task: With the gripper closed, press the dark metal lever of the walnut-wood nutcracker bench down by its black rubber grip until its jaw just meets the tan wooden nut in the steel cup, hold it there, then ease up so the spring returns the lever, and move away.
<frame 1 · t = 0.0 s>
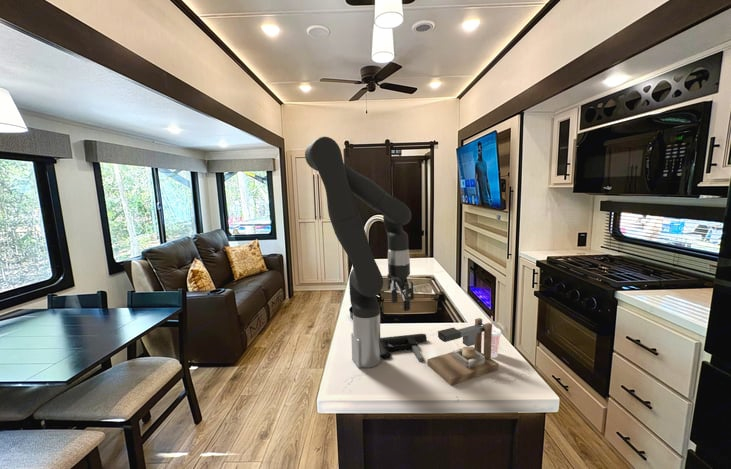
hand: (400, 306, 106), 17 cm above the countertop, tool pointing down, fingers open, 8 cm apart
black toy gun: (404, 352, 109), on the countertop
beverage cup: (490, 354, 106), on the countertop
nutcracker bench: (462, 367, 98), on the countertop
nutcracker lever: (464, 336, 97), point 11 cm above the countertop, hinge at 0.0°
wooden nut: (468, 359, 99), point 2 cm above the countertop, touching nutcracker bench
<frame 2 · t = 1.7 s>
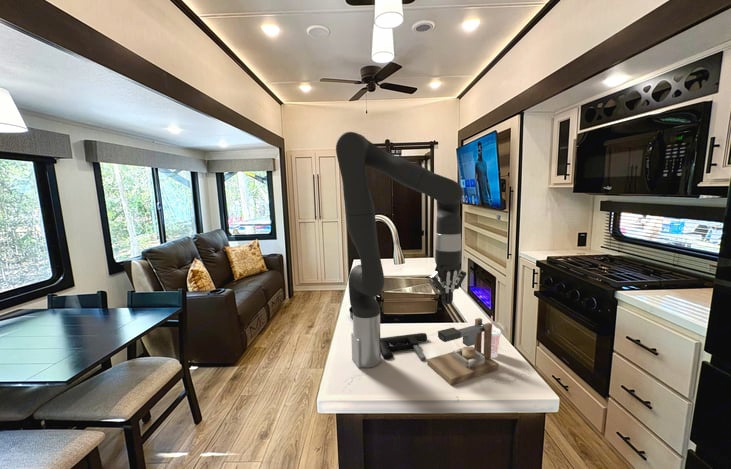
hand: (447, 303, 92), 23 cm above the countertop, tool pointing down, fingers closed
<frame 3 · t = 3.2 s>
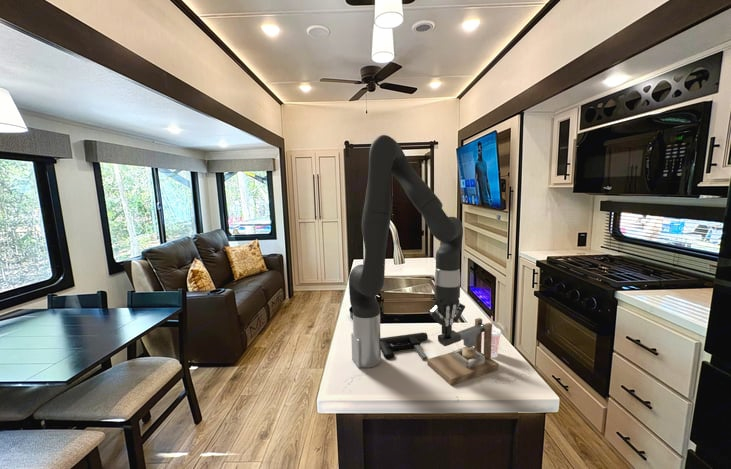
hand: (446, 335, 94), 12 cm above the countertop, tool pointing down, fingers closed
nutcracker lever: (464, 338, 97), point 10 cm above the countertop, hinge at -4.9°, touching gripper
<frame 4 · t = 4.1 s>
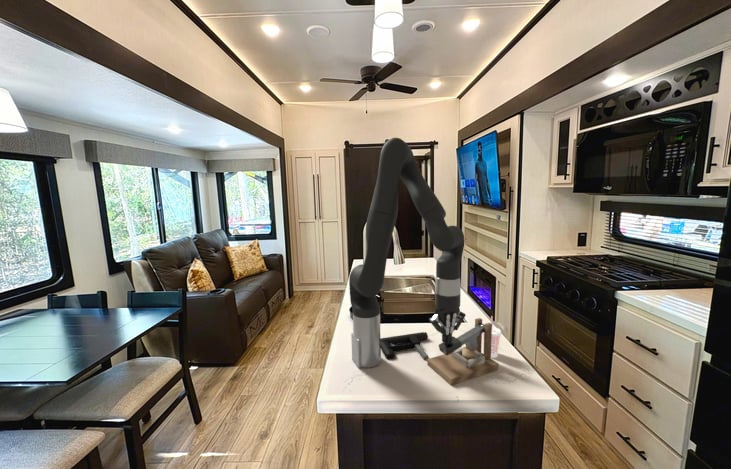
hand: (447, 343, 95), 10 cm above the countertop, tool pointing down, fingers closed
nutcracker lever: (465, 342, 97), point 8 cm above the countertop, hinge at -15.9°, touching gripper
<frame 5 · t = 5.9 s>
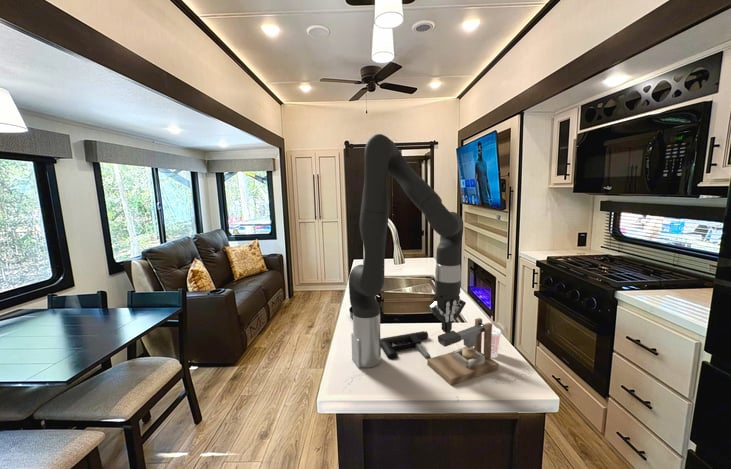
hand: (446, 331, 93), 14 cm above the countertop, tool pointing down, fingers closed
nutcracker lever: (464, 338, 97), point 10 cm above the countertop, hinge at -5.2°
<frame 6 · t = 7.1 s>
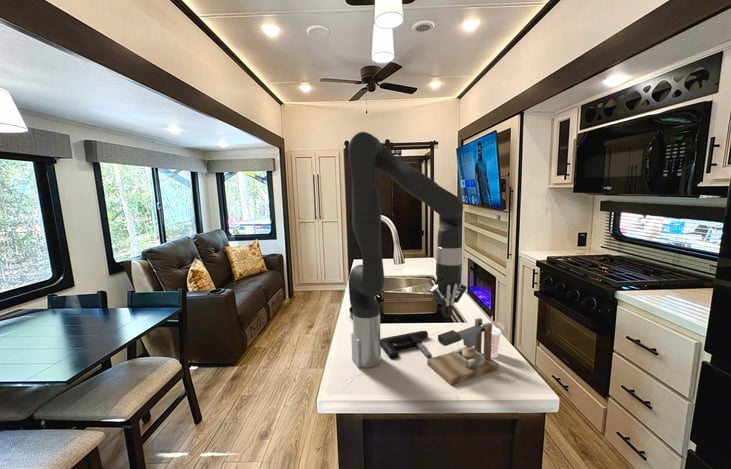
hand: (447, 316, 93), 19 cm above the countertop, tool pointing down, fingers closed
nutcracker lever: (464, 338, 97), point 10 cm above the countertop, hinge at -4.6°
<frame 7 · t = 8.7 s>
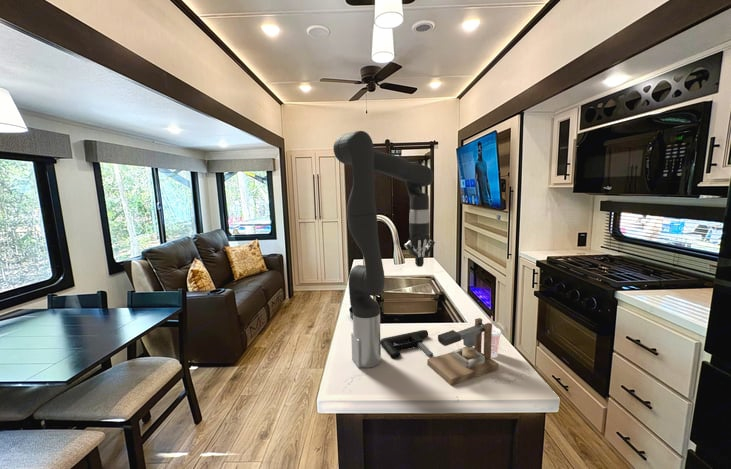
hand: (419, 266, 115), 29 cm above the countertop, tool pointing down, fingers closed
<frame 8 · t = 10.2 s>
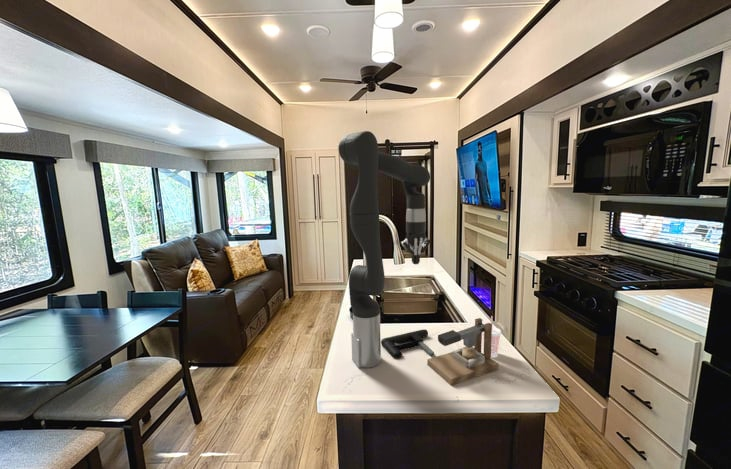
hand: (415, 263, 119), 29 cm above the countertop, tool pointing down, fingers closed
at the end: nutcracker lever at -5° (first picture: +0°); wooden nut 0.0 cm from the target spot on the nutcracker bench, point 2.0 cm above the nutcracker bench's base; wooden nut tilted 0° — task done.
